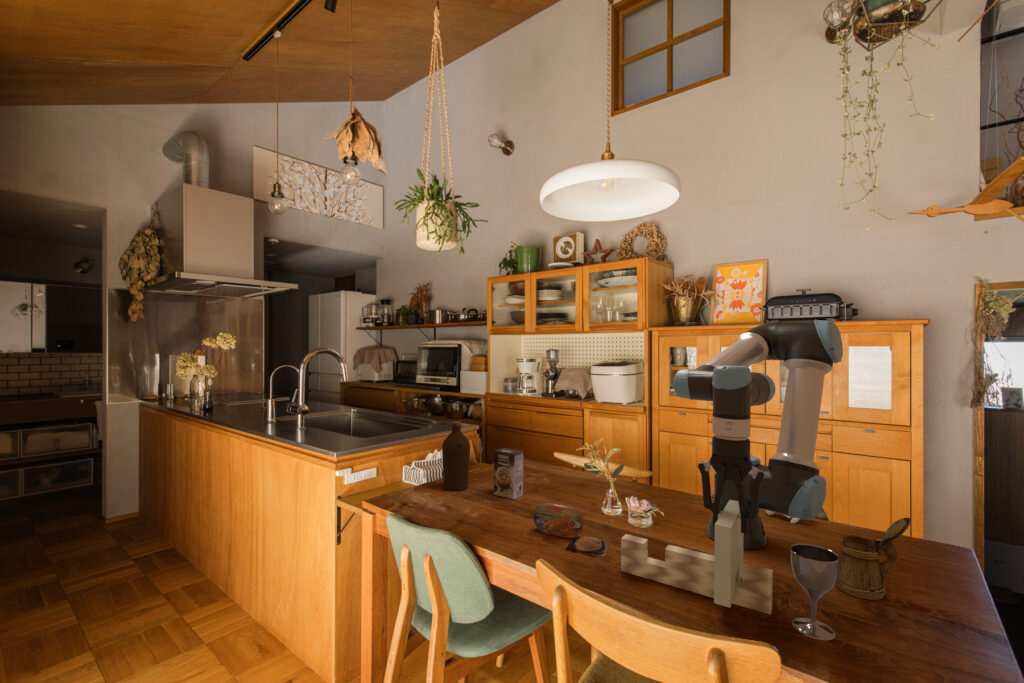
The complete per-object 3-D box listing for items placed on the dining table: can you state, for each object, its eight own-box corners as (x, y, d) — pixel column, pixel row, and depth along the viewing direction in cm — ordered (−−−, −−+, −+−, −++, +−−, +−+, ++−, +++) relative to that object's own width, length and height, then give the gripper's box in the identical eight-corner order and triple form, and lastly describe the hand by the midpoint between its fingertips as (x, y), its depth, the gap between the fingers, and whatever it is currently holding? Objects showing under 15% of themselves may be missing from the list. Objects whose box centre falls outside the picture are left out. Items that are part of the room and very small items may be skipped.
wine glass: (794, 636, 89) (794, 557, 89) (786, 613, 96) (786, 540, 96) (843, 646, 86) (844, 564, 86) (831, 621, 94) (832, 547, 93)
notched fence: (621, 571, 114) (621, 538, 114) (625, 566, 116) (625, 533, 116) (770, 614, 96) (771, 575, 96) (772, 607, 98) (772, 569, 98)
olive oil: (475, 486, 178) (476, 421, 178) (455, 493, 170) (456, 425, 170) (456, 481, 185) (456, 418, 185) (435, 487, 176) (436, 421, 176)
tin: (532, 531, 137) (532, 502, 137) (537, 527, 140) (537, 499, 140) (581, 541, 130) (581, 511, 130) (585, 537, 133) (585, 507, 133)
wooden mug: (916, 610, 98) (916, 525, 97) (837, 593, 104) (838, 512, 104) (905, 591, 105) (906, 511, 105) (833, 575, 112) (833, 501, 112)
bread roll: (609, 547, 128) (609, 533, 128) (604, 560, 120) (605, 546, 120) (571, 541, 132) (571, 528, 132) (564, 553, 124) (564, 539, 124)
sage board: (730, 607, 93) (730, 527, 93) (714, 603, 95) (714, 524, 95) (743, 571, 108) (743, 502, 108) (729, 567, 110) (729, 499, 110)
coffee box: (492, 494, 169) (493, 450, 169) (503, 490, 174) (503, 447, 174) (513, 499, 164) (513, 453, 164) (523, 494, 169) (524, 450, 169)
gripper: (688, 435, 103) (687, 541, 103) (771, 444, 94) (770, 561, 94) (696, 429, 109) (695, 530, 109) (774, 438, 100) (773, 547, 100)
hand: (729, 544), depth 101 cm, fingers closed on sage board, 3 cm apart
